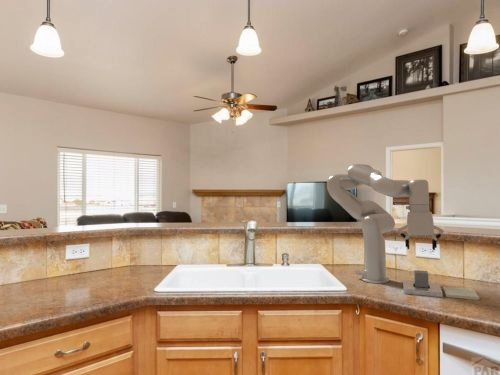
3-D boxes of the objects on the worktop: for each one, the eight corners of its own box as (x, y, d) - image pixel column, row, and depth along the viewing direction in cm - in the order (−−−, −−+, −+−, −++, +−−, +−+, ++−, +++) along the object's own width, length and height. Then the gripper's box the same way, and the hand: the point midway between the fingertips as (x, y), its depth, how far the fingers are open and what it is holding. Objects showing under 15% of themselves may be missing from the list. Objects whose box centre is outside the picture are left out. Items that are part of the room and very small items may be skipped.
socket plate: (403, 293, 139) (403, 288, 139) (403, 284, 152) (403, 280, 152) (442, 297, 133) (442, 292, 133) (438, 287, 146) (438, 283, 146)
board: (446, 296, 134) (446, 294, 134) (442, 288, 145) (442, 286, 145) (479, 299, 129) (479, 297, 129) (473, 291, 140) (473, 288, 140)
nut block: (415, 291, 141) (414, 272, 141) (414, 288, 146) (414, 270, 146) (428, 293, 139) (428, 273, 139) (427, 289, 144) (427, 271, 144)
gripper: (397, 209, 143) (398, 249, 143) (443, 208, 136) (445, 251, 136) (397, 208, 150) (398, 247, 150) (441, 208, 143) (443, 248, 143)
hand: (420, 249), depth 143 cm, fingers open, 9 cm apart
